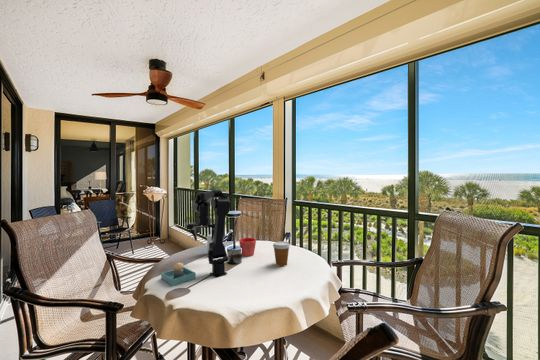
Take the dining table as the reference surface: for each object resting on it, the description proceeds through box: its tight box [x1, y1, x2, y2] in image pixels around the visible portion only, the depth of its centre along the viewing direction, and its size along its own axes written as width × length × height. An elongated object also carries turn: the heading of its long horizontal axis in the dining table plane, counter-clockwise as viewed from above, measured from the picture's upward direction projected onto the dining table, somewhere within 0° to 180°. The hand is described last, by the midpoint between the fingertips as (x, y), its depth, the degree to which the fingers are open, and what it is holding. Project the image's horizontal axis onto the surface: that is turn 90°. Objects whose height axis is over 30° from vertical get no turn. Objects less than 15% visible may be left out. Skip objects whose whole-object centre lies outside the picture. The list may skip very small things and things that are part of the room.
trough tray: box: [160, 266, 197, 287], centre depth 121 cm, size 12×12×3 cm
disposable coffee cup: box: [272, 240, 290, 267], centre depth 141 cm, size 10×10×12 cm
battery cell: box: [173, 262, 184, 279], centre depth 121 cm, size 4×4×7 cm
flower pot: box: [238, 237, 257, 257], centre depth 160 cm, size 11×11×10 cm
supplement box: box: [206, 234, 213, 256], centre depth 161 cm, size 7×7×13 cm
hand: (204, 240), depth 144 cm, fingers open, 9 cm apart
